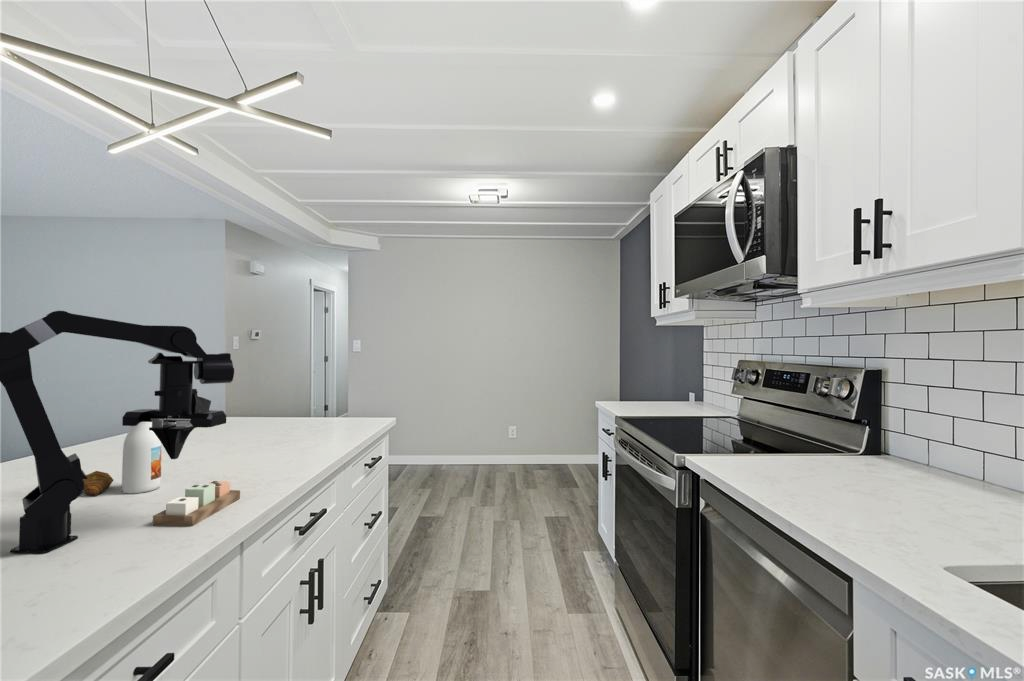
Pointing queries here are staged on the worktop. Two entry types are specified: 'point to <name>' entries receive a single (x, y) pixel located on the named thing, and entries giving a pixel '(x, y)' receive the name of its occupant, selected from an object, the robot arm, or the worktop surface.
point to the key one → (182, 506)
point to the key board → (196, 512)
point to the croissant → (96, 483)
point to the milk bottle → (141, 460)
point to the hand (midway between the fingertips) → (174, 458)
